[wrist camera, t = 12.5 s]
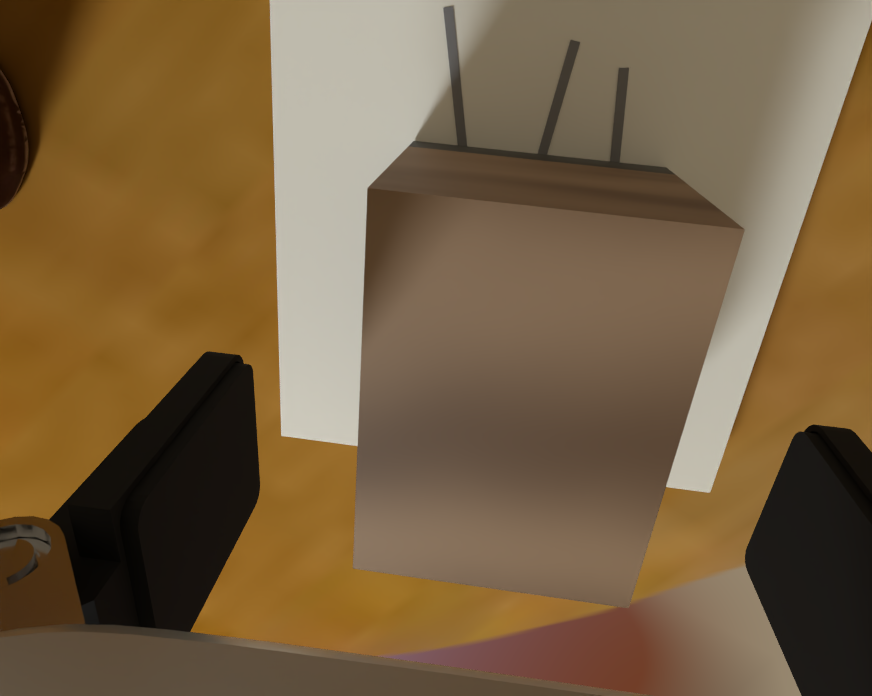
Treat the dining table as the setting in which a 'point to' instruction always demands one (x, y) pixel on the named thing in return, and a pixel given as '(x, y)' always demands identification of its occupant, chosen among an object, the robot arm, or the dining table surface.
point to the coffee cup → (11, 144)
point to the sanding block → (528, 364)
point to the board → (547, 149)
